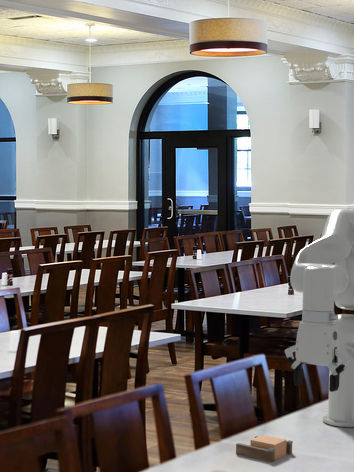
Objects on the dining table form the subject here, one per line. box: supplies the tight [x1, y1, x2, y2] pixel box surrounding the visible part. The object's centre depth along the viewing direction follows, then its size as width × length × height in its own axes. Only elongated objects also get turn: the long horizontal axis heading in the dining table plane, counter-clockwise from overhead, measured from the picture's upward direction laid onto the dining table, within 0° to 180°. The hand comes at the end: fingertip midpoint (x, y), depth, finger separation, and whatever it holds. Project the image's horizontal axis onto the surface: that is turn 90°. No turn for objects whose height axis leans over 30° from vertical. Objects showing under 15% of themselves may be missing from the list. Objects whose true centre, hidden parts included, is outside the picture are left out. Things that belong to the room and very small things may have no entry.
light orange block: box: [249, 434, 288, 461], centre depth 216 cm, size 6×7×4 cm
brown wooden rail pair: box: [235, 435, 294, 463], centre depth 217 cm, size 10×10×3 cm
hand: (315, 387), depth 208 cm, fingers open, 9 cm apart
